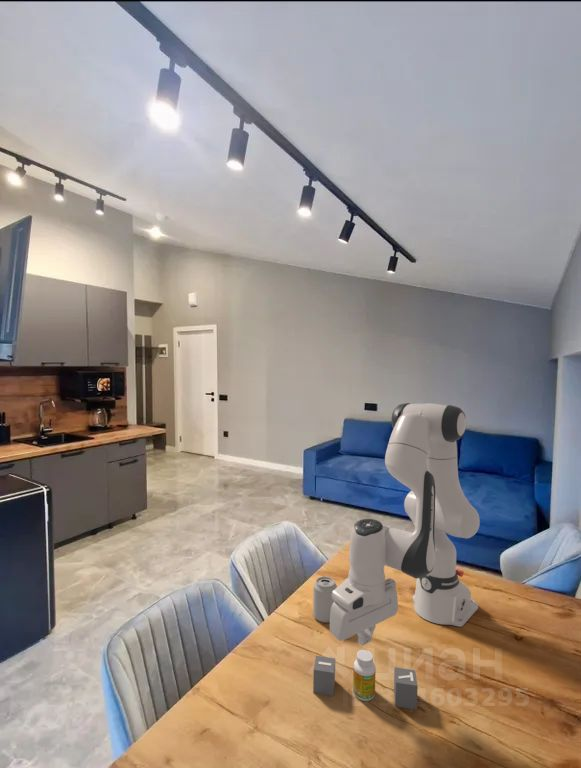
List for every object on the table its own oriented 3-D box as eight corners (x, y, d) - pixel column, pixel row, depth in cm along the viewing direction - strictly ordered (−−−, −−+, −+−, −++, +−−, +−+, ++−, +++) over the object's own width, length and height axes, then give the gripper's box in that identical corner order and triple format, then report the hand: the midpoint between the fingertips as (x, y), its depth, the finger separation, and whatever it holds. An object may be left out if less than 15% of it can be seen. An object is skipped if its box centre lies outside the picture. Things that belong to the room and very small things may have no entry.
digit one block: (315, 677, 107) (316, 655, 106) (334, 680, 106) (335, 657, 105) (313, 692, 102) (313, 669, 101) (333, 696, 101) (333, 672, 100)
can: (336, 610, 135) (336, 575, 135) (336, 625, 128) (337, 588, 127) (313, 609, 136) (314, 574, 135) (312, 623, 129) (313, 586, 128)
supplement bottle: (361, 705, 98) (362, 666, 98) (348, 688, 103) (349, 651, 102) (379, 696, 101) (380, 658, 100) (365, 681, 105) (366, 645, 105)
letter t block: (393, 690, 103) (394, 666, 103) (414, 693, 102) (415, 669, 102) (395, 706, 98) (395, 681, 98) (416, 709, 97) (417, 685, 97)
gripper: (386, 571, 109) (384, 621, 109) (326, 594, 97) (324, 650, 98) (404, 581, 104) (403, 634, 104) (344, 607, 92) (342, 666, 93)
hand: (364, 642), depth 101 cm, fingers closed
